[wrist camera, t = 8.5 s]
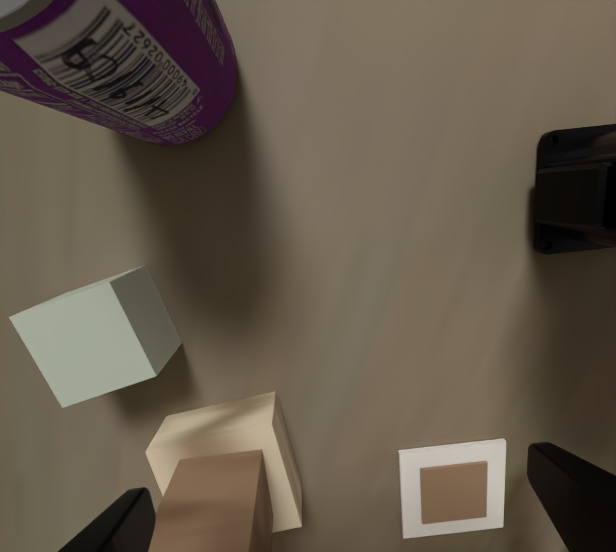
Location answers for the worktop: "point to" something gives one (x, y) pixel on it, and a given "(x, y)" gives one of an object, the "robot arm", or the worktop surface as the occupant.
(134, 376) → the sage block
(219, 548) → the walnut block
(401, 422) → the worktop surface
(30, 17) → the beverage can
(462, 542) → the worktop surface
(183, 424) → the beech base
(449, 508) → the swatch
